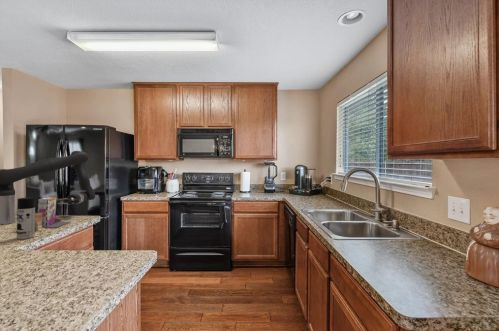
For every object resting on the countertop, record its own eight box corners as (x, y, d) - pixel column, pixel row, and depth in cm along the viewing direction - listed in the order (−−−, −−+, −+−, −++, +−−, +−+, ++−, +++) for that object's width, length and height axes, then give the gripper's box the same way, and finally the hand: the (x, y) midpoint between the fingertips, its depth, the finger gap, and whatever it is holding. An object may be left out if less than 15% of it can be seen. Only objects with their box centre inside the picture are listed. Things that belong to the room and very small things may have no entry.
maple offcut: (27, 230, 136) (27, 222, 136) (32, 228, 141) (32, 220, 140) (37, 230, 137) (37, 222, 137) (41, 228, 142) (42, 220, 141)
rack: (17, 232, 133) (17, 224, 133) (45, 222, 155) (46, 215, 155) (35, 231, 134) (35, 224, 134) (61, 222, 157) (61, 215, 157)
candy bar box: (47, 227, 144) (47, 199, 144) (37, 227, 142) (37, 199, 142) (56, 222, 154) (56, 196, 154) (46, 223, 153) (47, 196, 153)
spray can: (13, 239, 121) (13, 198, 121) (28, 235, 128) (28, 196, 128) (23, 240, 120) (23, 199, 120) (38, 236, 126) (38, 197, 126)
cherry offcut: (27, 222, 137) (27, 214, 137) (34, 220, 141) (34, 212, 141) (35, 222, 137) (35, 214, 137) (42, 220, 141) (42, 212, 141)
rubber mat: (44, 228, 142) (44, 227, 142) (59, 222, 155) (59, 221, 155) (57, 227, 143) (57, 226, 143) (70, 222, 156) (70, 221, 156)
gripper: (64, 193, 176) (49, 197, 160) (86, 193, 178) (73, 197, 162) (64, 204, 176) (49, 208, 160) (86, 204, 178) (73, 208, 162)
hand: (61, 202), depth 161 cm, fingers open, 8 cm apart
